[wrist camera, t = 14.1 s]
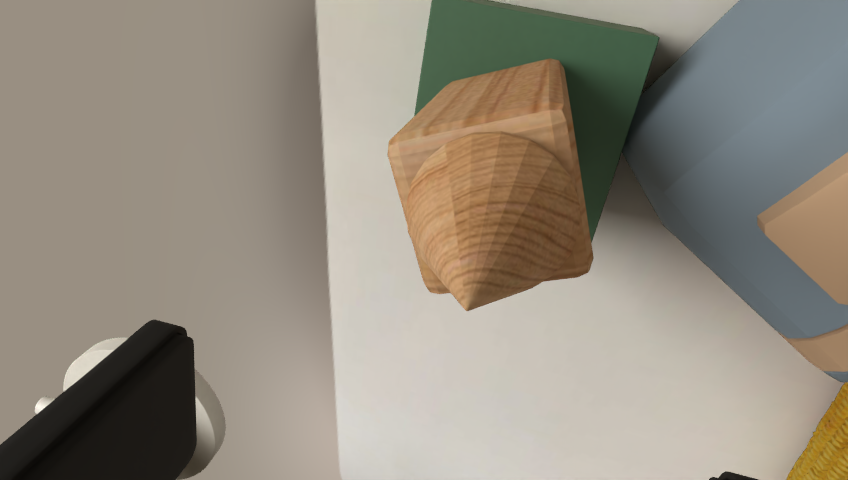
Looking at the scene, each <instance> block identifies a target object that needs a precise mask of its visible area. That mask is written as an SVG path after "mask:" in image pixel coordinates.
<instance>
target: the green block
mask: <svg viewBox="0 0 848 480" xmlns="http://www.w3.org/2000/svg"><path fill="white" fill-rule="evenodd" d="M658 41H659V37H658V36H656V35H654V34H652V33H650V32H648V31H646V30H644V29H642V28H637V27H631V26H626V25H620V24H615V23H609V22H604V21H598V20H593V19H588V18H582V17H577V16H571V15H566V14H560V13H555V12H549V11H544V10H538V9H533V8H528V7H522V6H517V5H511V4H506V3H500V2H495V1H489V0H432V3H431V9H430V16H429V23H428V29H427V36H426V42H425V49H424V56H423V62H422V69H421V75H420V82H419V89H418V95H417V102H416V108H415V115H416V114H417V113H419V112H420V111H421V110H422V109H423V108H424V107H425V106H426V105H427V104H428V103H429V102H430V101H431V100H432V99H433V98H434V97H435V96H436V95H437V94H438V93H439V92H440V91H441V90H442V89H443V88H444V87H445V86H447V85H448V84H450V83H451V82H452V81H456V80H461V79H465V78H469V77H473V76H478V75H482V74H486V73H490V72H495V71H499V70H503V69H507V68H512V67H516V66H520V65H524V64H529V63H533V62H537V61H541V60H546V59H555V60H559V61H560V63H561V64H562V66H563V67H564V70H565V77H566V83H567V89H568V95H569V101H570V108H571V114H572V120H573V127H574V133H575V140H576V147H577V153H578V160H579V166H580V173H581V179H582V186H583V193H584V199H585V206H586V212H587V219H588V226H589V232H590V239H591V242H592V239H593V236H594V233H595V230H596V227H597V224H598V221H599V218H600V215H601V212H602V209H603V206H604V203H605V200H606V197H607V194H608V191H609V188H610V185H611V182H612V179H613V176H614V173H615V170H616V167H617V164H618V161H619V158H620V155H621V152H622V149H623V146H624V143H625V140H626V137H627V134H628V131H629V128H630V125H631V122H632V119H633V116H634V113H635V110H636V107H637V104H638V101H639V98H640V95H641V92H642V89H643V86H644V83H645V80H646V77H647V74H648V71H649V68H650V65H651V62H652V59H653V56H654V53H655V50H656V47H657V44H658ZM415 115H414V116H415Z"/></svg>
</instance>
